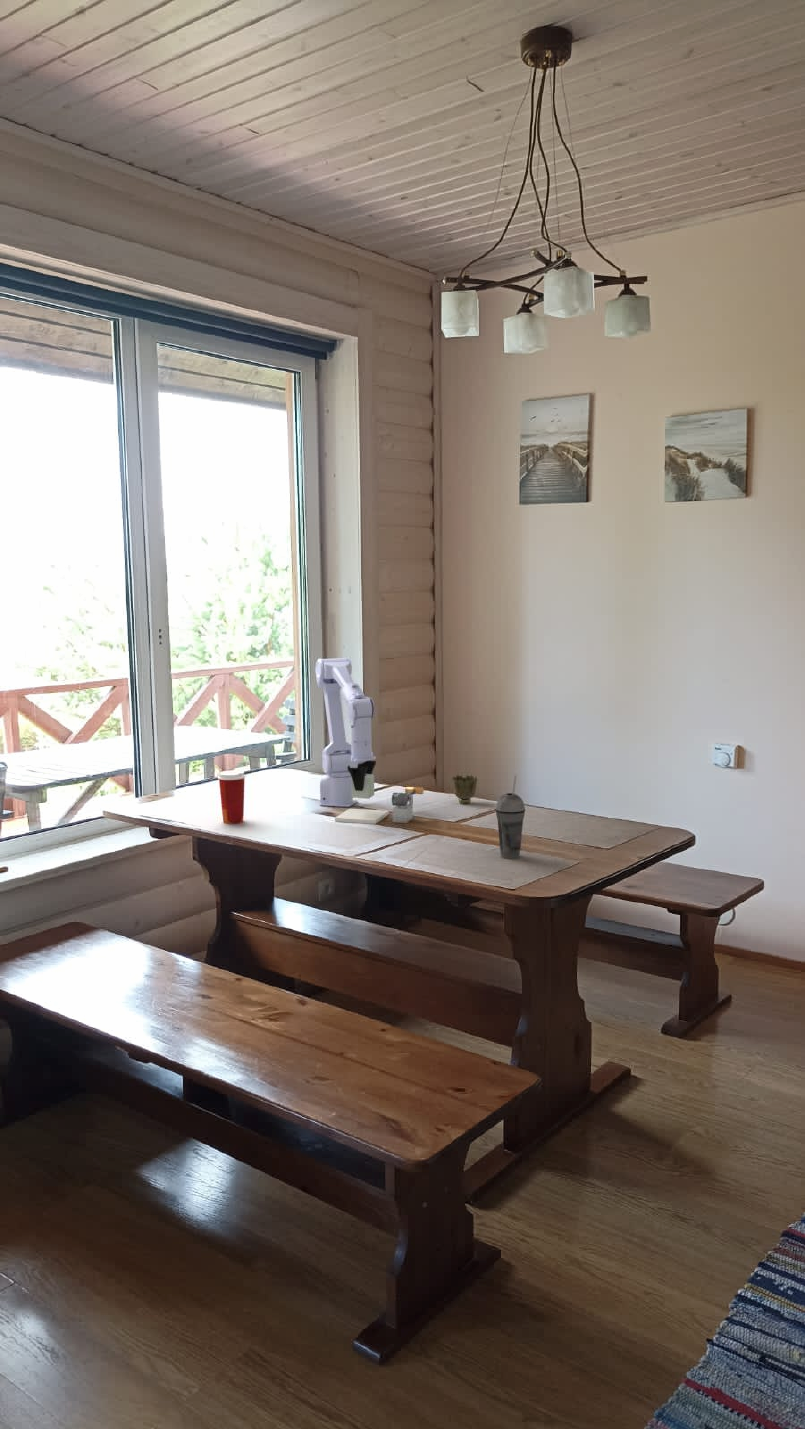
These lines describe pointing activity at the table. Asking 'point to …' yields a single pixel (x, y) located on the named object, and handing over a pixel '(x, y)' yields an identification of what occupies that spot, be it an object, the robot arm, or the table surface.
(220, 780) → the paper cup
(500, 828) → the beverage cup
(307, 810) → the table surface
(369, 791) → the block
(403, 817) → the white square planter
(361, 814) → the plate
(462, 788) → the cup
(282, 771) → the table surface
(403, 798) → the press lever
